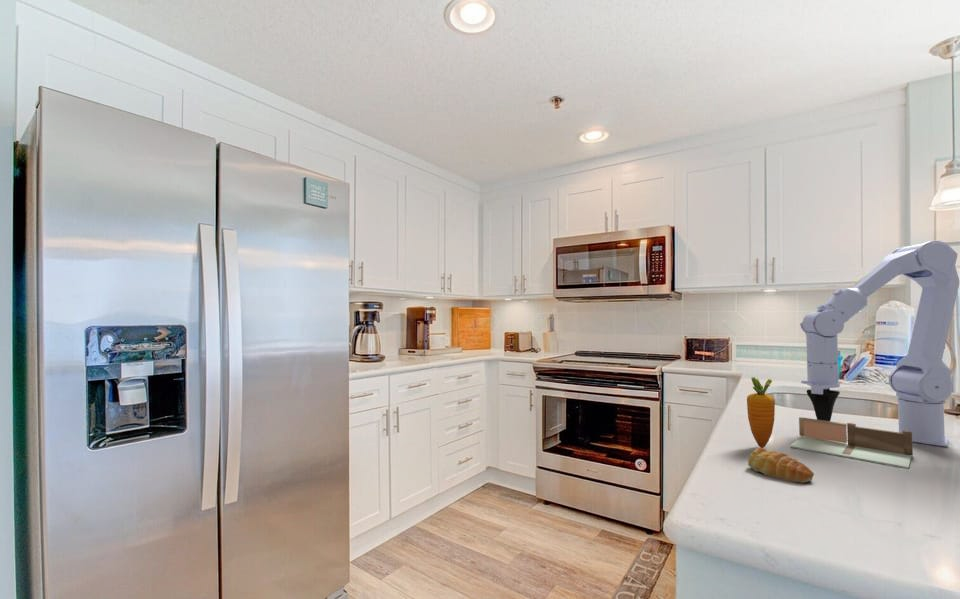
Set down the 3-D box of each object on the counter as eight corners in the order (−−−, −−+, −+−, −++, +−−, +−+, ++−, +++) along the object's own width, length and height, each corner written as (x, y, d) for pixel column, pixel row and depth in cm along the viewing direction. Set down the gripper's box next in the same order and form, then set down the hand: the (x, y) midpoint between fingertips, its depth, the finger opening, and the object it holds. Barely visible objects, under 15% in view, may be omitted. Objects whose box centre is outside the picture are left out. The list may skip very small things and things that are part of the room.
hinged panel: (800, 434, 100) (799, 417, 100) (847, 442, 94) (846, 423, 94) (798, 435, 99) (798, 417, 99) (846, 443, 93) (845, 424, 93)
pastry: (822, 481, 74) (821, 458, 75) (800, 488, 71) (799, 465, 72) (765, 464, 83) (764, 444, 83) (743, 470, 80) (743, 449, 80)
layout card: (804, 434, 102) (804, 432, 102) (912, 451, 89) (912, 449, 89) (790, 447, 93) (790, 445, 93) (908, 468, 79) (908, 466, 79)
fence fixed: (848, 443, 94) (847, 422, 94) (912, 454, 87) (912, 431, 87) (847, 445, 93) (846, 423, 93) (912, 455, 86) (911, 432, 86)
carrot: (775, 446, 93) (773, 376, 93) (776, 453, 89) (774, 379, 89) (748, 443, 96) (746, 374, 96) (747, 449, 91) (746, 377, 92)
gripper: (807, 359, 109) (809, 413, 109) (794, 363, 99) (795, 423, 99) (844, 361, 104) (845, 418, 104) (833, 366, 94) (835, 429, 94)
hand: (823, 421), depth 101 cm, fingers closed
